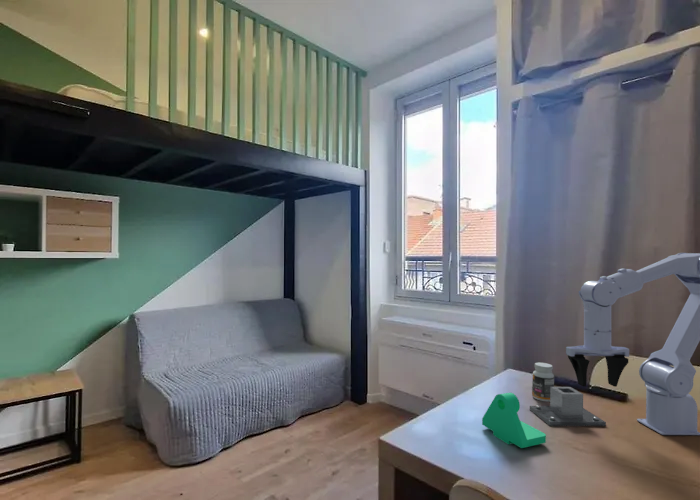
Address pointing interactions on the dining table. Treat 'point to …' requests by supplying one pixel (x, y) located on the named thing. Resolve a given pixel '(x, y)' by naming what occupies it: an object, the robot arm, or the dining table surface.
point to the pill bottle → (542, 381)
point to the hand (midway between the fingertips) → (597, 385)
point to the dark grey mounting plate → (556, 420)
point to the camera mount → (510, 422)
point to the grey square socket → (566, 402)
